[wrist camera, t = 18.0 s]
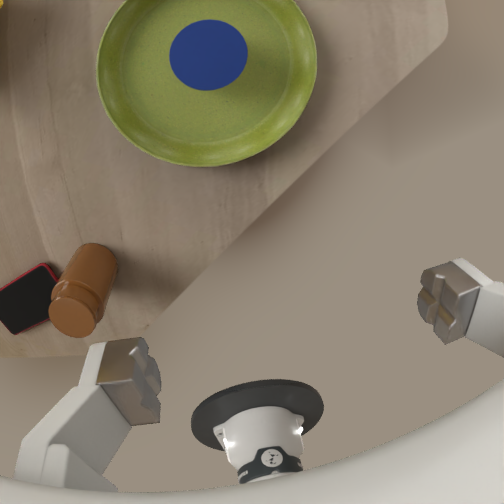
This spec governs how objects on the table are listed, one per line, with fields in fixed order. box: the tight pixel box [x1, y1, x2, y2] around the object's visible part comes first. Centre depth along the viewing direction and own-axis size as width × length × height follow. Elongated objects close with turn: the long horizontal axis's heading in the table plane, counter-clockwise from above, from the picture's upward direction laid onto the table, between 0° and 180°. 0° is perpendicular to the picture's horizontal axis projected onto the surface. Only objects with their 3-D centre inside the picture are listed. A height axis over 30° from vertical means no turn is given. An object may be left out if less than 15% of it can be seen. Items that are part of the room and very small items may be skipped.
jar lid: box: [169, 19, 248, 91], centre depth 23 cm, size 6×6×2 cm
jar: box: [49, 243, 118, 338], centre depth 31 cm, size 6×6×10 cm
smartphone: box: [0, 263, 58, 335], centre depth 35 cm, size 7×1×15 cm
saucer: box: [96, 0, 317, 167], centre depth 26 cm, size 21×21×3 cm
